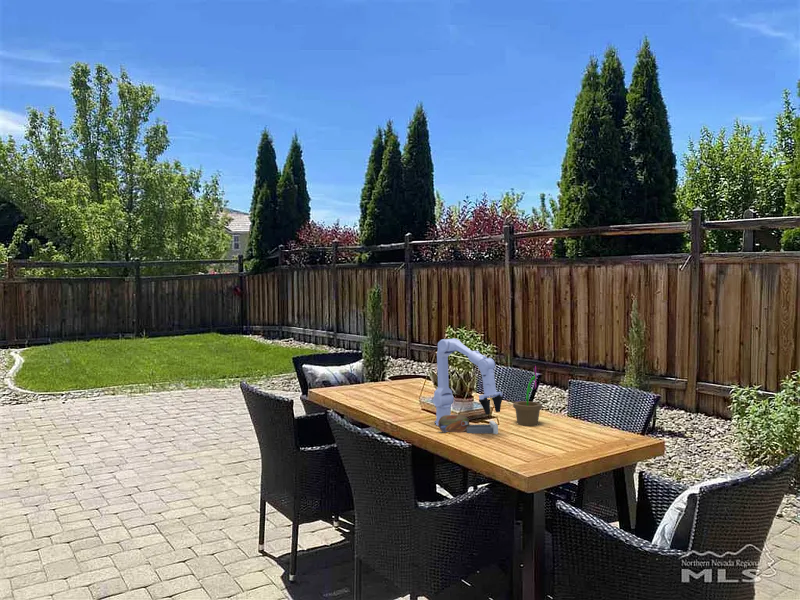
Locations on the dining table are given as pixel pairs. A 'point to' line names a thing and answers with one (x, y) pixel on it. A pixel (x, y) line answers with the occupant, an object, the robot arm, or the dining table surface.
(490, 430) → the bay
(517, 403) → the flowerpot
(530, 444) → the dining table surface
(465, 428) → the tin
